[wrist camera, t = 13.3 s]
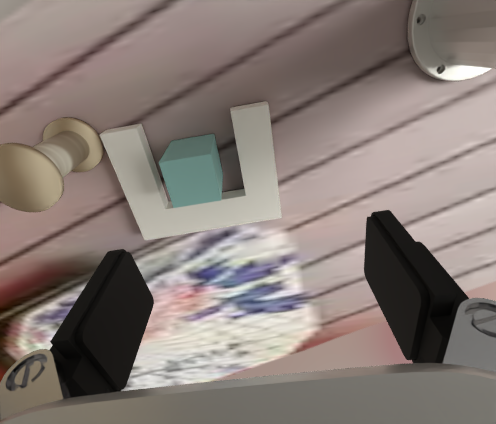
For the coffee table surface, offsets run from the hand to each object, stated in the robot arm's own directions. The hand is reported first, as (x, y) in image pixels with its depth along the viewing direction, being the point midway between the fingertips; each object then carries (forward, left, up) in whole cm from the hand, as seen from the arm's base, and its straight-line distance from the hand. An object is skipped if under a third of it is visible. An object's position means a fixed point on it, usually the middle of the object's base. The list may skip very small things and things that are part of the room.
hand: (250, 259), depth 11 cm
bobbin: (+18, 0, -24) cm, 30 cm away
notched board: (+5, +6, -24) cm, 25 cm away
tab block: (+5, +4, -24) cm, 25 cm away
